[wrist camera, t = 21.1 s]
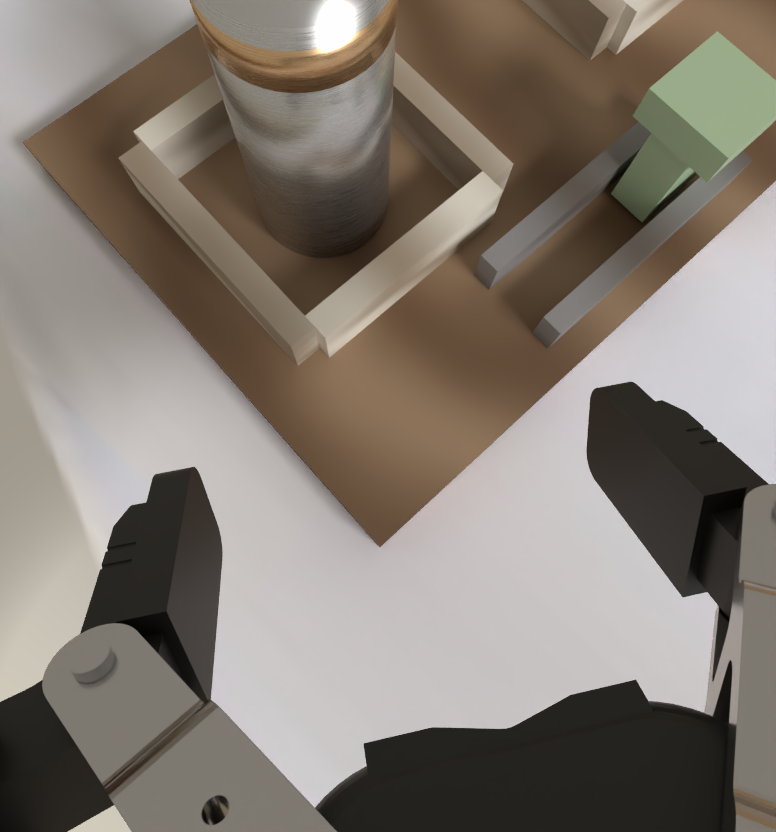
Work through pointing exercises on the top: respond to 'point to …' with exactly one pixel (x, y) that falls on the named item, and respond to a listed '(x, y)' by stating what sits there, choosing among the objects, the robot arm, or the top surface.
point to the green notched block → (696, 123)
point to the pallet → (419, 228)
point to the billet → (309, 112)
